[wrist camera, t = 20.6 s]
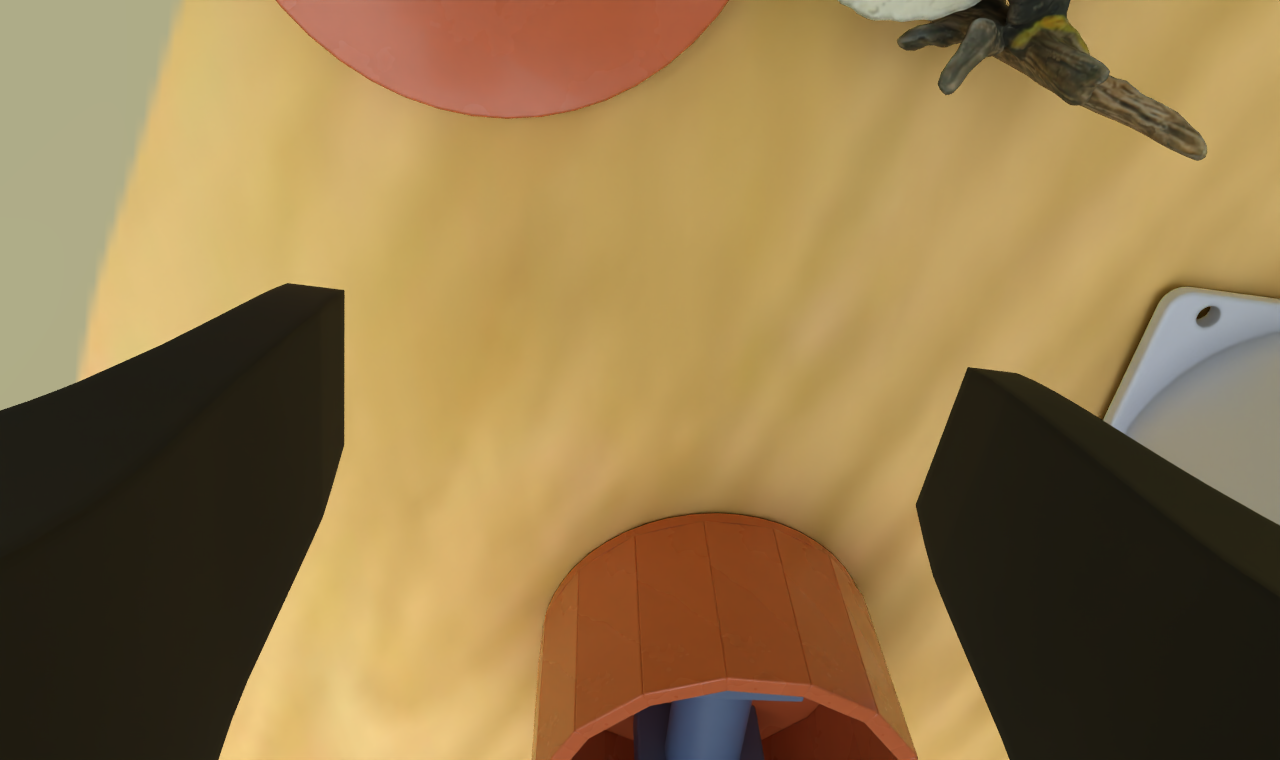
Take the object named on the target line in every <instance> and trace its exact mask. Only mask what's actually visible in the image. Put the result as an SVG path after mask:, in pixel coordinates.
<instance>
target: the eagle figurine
mask: <svg viewBox="0 0 1280 760" xmlns="http://www.w3.org/2000/svg"><path fill="white" fill-rule="evenodd" d="M838 1H839V2H840V3H841V4H843V5H845V6H847V7H849V8H851V9H853V10H854V11H855V12H856V13H857V14H859V15H861V16H863V17H865V18H867V19H870V20H874V21H878V20H892V21H898V22H906V21H914V20H922V19H924V20H929V21H930V22H932V23H929V24H925V25H919V26H917V27H914V28H912V29H910V30H908V31H907V32H905V33H904V34H903V35H902V36H901V37H899V39H898V40H897V43H898V45H899V46H900V47H901V48H903V49H904V50H911V51H915V50H917V49H920V48H923V47H925V46H928V45H934V46H938V47H948V46H950V45H952V44H958V43H961V44H960V46H959V48H958V50H957V52H956V53H955V54H954V56H953V57H952V58H951V59H950V61H949V62H948V64H947V65H946V67H945V68H944V69H943V71H942V72H941V75H940V78H939V81H938V86H939V88H940V90H941V91H942V92H943V93H944V94H945V95H949V94H952V93H953V92H954V91H955V90H956V89H957V88H958V87H959V86H960V85H961V83H962V82H963V80H964V79H965V77H966V76H967V75H968V73H969V72H970V71H971V70H972V69H973V68H974V67H975V66H976V65H977V64H978V63H979V62H981V61H982V60H983V59H984V58H985V57H989V56H994V57H995V58H997V59H999V60H1001V61H1002V62H1004V63H1006V64H1008V65H1010V66H1011V67H1013V68H1015V69H1017V70H1018V71H1020V72H1022V73H1024V74H1025V75H1027V76H1029V77H1030V78H1031V79H1033V80H1034V81H1035V82H1037V83H1038V84H1040V85H1041V86H1043V87H1045V88H1047V89H1048V90H1050V91H1052V92H1053V93H1055V94H1056V95H1058V96H1059V97H1060V98H1061V99H1062V100H1064V101H1065V102H1066V103H1068V104H1070V105H1080V106H1083V107H1085V108H1087V109H1089V110H1091V111H1093V112H1095V113H1098V114H1100V115H1103V116H1105V117H1108V118H1110V119H1112V120H1115V121H1117V122H1119V123H1122V124H1124V125H1126V126H1129V127H1131V128H1133V129H1135V130H1137V131H1138V132H1140V133H1142V134H1144V135H1146V136H1148V137H1149V138H1151V139H1153V140H1154V141H1156V142H1158V143H1160V144H1161V145H1163V146H1165V147H1167V148H1169V149H1171V150H1173V151H1175V152H1177V153H1179V154H1182V155H1184V156H1186V157H1189V158H1191V159H1194V160H1197V161H1199V160H1202V159H1203V158H1205V157H1206V154H1207V145H1206V143H1205V141H1204V139H1203V138H1202V136H1201V135H1200V133H1199V132H1198V131H1196V130H1195V129H1194V128H1193V127H1192V126H1191V125H1190V124H1189V123H1188V122H1187V121H1186V120H1185V119H1184V118H1183V117H1182V116H1181V115H1180V114H1179V113H1178V112H1176V111H1174V110H1172V109H1171V108H1169V107H1167V106H1165V105H1164V104H1162V103H1160V102H1157V101H1156V100H1154V99H1152V98H1149V97H1147V96H1145V95H1143V94H1142V93H1140V92H1139V91H1138V90H1137V89H1136V88H1135V87H1133V86H1132V85H1131V84H1129V83H1128V82H1127V81H1125V80H1121V79H1117V78H1114V77H1112V76H1110V75H1109V73H1110V71H1109V69H1108V68H1107V67H1106V66H1105V65H1104V64H1103V63H1102V62H1100V61H1098V60H1097V59H1095V58H1093V57H1092V56H1090V53H1089V50H1088V48H1087V45H1086V44H1085V42H1084V41H1083V40H1082V38H1081V36H1080V35H1079V33H1078V31H1077V30H1076V29H1075V28H1074V27H1072V26H1071V24H1070V23H1069V22H1068V19H1067V10H1068V7H1069V4H1070V0H1008V1H1009V4H1010V5H1009V6H1007V5H1006V1H1005V0H838Z"/></svg>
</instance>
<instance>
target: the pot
mask: <svg viewBox="0 0 1280 760" xmlns="http://www.w3.org/2000/svg"><path fill="white" fill-rule="evenodd" d="M724 691H735V692H748V693H760V694H772V695H784V696H797V697H804V698H803V701H802V702H794V701H766V700H752V705H751V706H754V707H755V709H756V714H757V719H758V725H759V731H760V736H761V742H762V748H763V753H764V759H765V760H918V756H917V753H916V751H915V748H914V745H913V742H912V739H911V736H910V733H909V730H908V727H907V724H906V721H905V718H904V715H903V712H902V709H901V706H900V703H899V701H898V698H897V695H896V692H895V689H894V686H893V683H892V680H891V677H890V674H889V671H888V668H887V665H886V662H885V659H884V656H883V653H882V651H881V648H880V645H879V642H878V639H877V636H876V633H875V630H874V627H873V624H872V621H871V618H870V615H869V612H868V609H867V606H866V603H865V601H864V598H863V595H862V594H861V593H860V592H859V590H858V589H857V587H856V585H855V583H854V581H853V579H852V577H851V576H850V575H849V573H848V572H847V570H846V569H845V567H844V566H843V565H842V564H841V563H840V562H839V561H838V560H837V559H836V558H835V557H834V555H833V554H832V553H831V552H829V551H828V550H827V549H825V548H824V547H823V546H821V545H820V544H819V543H817V542H816V541H815V540H813V539H811V538H809V537H808V536H806V535H804V534H802V533H801V532H799V531H796V530H794V529H792V528H789V527H787V526H784V525H782V524H779V523H776V522H772V521H768V520H765V519H761V518H757V517H751V516H744V515H738V514H721V513H708V514H690V515H684V516H678V517H672V518H667V519H663V520H659V521H655V522H652V523H648V524H645V525H642V526H640V527H637V528H635V529H632V530H629V531H627V532H625V533H623V534H621V535H619V536H617V537H615V538H613V539H611V540H609V541H607V542H606V543H604V544H603V545H601V546H600V547H598V548H597V549H595V550H594V551H592V552H591V553H590V554H588V555H587V556H586V557H585V558H584V559H583V560H582V561H581V562H579V563H578V564H577V565H576V566H575V567H574V568H573V569H572V571H571V572H570V573H569V574H568V575H567V576H566V577H565V579H564V580H563V581H562V583H561V584H560V586H559V587H558V589H557V591H556V592H555V594H554V595H553V597H552V600H551V602H550V604H549V607H548V609H547V611H546V615H545V620H544V624H543V632H542V642H541V649H540V656H539V665H538V679H537V692H536V706H535V720H534V734H533V747H532V760H634V738H633V721H634V714H636V713H638V712H640V711H642V710H644V709H645V708H647V707H649V706H652V705H657V704H662V703H671V702H673V701H678V700H683V699H688V698H693V697H698V696H703V695H708V694H713V693H719V692H724Z"/></svg>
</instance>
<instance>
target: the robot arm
mask: <svg viewBox="0 0 1280 760" xmlns="http://www.w3.org/2000/svg"><path fill="white" fill-rule="evenodd" d="M1209 306H1211V307H1210V311H1209V312H1208V313H1207V314H1206V316H1204V317H1202V318H1200V319H1196V318H1197V315H1198V314H1199V312H1200V311H1201V310H1202V309H1204V308H1206V307H1209ZM343 447H344V290H338V289H330V288H322V287H314V286H305V285H297V284H289V283H287V284H284V285H282V286H279V287H276V288H274V289H272V290H269V291H267V292H265V293H263V294H261V295H259V296H257V297H255V298H253V299H251V300H249V301H247V302H245V303H243V304H241V305H239V306H237V307H235V308H233V309H231V310H230V311H228V312H226V313H224V314H222V315H220V316H218V317H216V318H214V319H212V320H210V321H208V322H206V323H204V324H202V325H200V326H198V327H196V328H194V329H192V330H190V331H188V332H186V333H184V334H182V335H180V336H178V337H176V338H174V339H172V340H170V341H168V342H166V343H164V344H162V345H160V346H158V347H156V348H153V349H151V350H149V351H147V352H145V353H142V354H140V355H138V356H136V357H133V358H131V359H129V360H127V361H124V362H122V363H120V364H118V365H115V366H113V367H111V368H109V369H106V370H104V371H102V372H100V373H97V374H95V375H93V376H91V377H88V378H86V379H84V380H82V381H79V382H77V383H74V384H72V385H69V386H67V387H64V388H62V389H60V390H57V391H54V392H52V393H49V394H46V395H44V396H41V397H38V398H36V399H33V400H30V401H28V402H24V403H21V404H18V405H16V406H13V407H10V408H7V409H4V410H1V411H0V760H218V759H219V756H220V753H221V750H222V747H223V744H224V741H225V738H226V735H227V732H228V729H229V726H230V723H231V720H232V718H233V715H234V713H235V710H236V708H237V705H238V703H239V701H240V698H241V696H242V693H243V691H244V688H245V686H246V683H247V681H248V679H249V676H250V674H251V672H252V670H253V668H254V666H255V663H256V661H257V659H258V657H259V655H260V653H261V651H262V648H263V646H264V644H265V642H266V640H267V638H268V635H269V633H270V631H271V629H272V627H273V625H274V622H275V620H276V618H277V616H278V614H279V612H280V610H281V607H282V605H283V603H284V601H285V599H286V597H287V594H288V592H289V590H290V588H291V586H292V584H293V582H294V579H295V577H296V575H297V573H298V571H299V569H300V566H301V564H302V562H303V560H304V558H305V555H306V553H307V551H308V549H309V547H310V544H311V542H312V540H313V538H314V536H315V533H316V531H317V529H318V527H319V524H320V522H321V520H322V518H323V515H324V511H325V508H326V505H327V502H328V498H329V495H330V492H331V489H332V485H333V482H334V479H335V475H336V472H337V468H338V464H339V461H340V457H341V454H342V450H343ZM916 508H917V513H918V517H919V522H920V526H921V531H922V535H923V539H924V544H925V548H926V551H927V555H928V559H929V562H930V566H931V570H932V573H933V577H934V579H935V582H936V584H937V587H938V589H939V592H940V594H941V597H942V599H943V602H944V604H945V607H946V609H947V611H948V614H949V616H950V619H951V621H952V623H953V626H954V628H955V631H956V633H957V635H958V638H959V640H960V642H961V645H962V647H963V649H964V652H965V654H966V656H967V659H968V661H969V663H970V666H971V668H972V670H973V673H974V675H975V677H976V680H977V682H978V684H979V687H980V689H981V691H982V694H983V696H984V698H985V701H986V703H987V705H988V708H989V710H990V712H991V715H992V717H993V719H994V722H995V724H996V726H997V729H998V731H999V734H1000V736H1001V738H1002V741H1003V743H1004V746H1005V749H1006V751H1007V754H1008V757H1009V759H1010V760H1280V299H1276V298H1268V297H1261V296H1254V295H1246V294H1239V293H1232V292H1225V291H1217V290H1210V289H1203V288H1195V287H1179V288H1176V289H1174V290H1171V291H1170V292H1169V293H1167V294H1166V295H1165V296H1163V298H1162V299H1161V301H1160V302H1159V303H1158V305H1157V307H1156V309H1155V312H1154V314H1153V316H1152V318H1151V320H1150V322H1149V324H1148V326H1147V328H1146V330H1145V333H1144V335H1143V337H1142V339H1141V341H1140V343H1139V345H1138V347H1137V349H1136V352H1135V354H1134V356H1133V358H1132V360H1131V362H1130V364H1129V366H1128V368H1127V370H1126V373H1125V375H1124V377H1123V379H1122V381H1121V383H1120V385H1119V387H1118V389H1117V391H1116V394H1115V396H1114V398H1113V400H1112V402H1111V404H1110V406H1109V408H1108V410H1107V413H1106V415H1105V417H1104V419H1103V420H1101V419H1100V418H1098V417H1096V416H1095V415H1093V414H1092V413H1090V412H1088V411H1087V410H1085V409H1084V408H1082V407H1080V406H1079V405H1077V404H1075V403H1074V402H1072V401H1070V400H1068V399H1067V398H1065V397H1063V396H1061V395H1060V394H1058V393H1056V392H1055V391H1053V390H1051V389H1049V388H1047V387H1045V386H1043V385H1042V384H1040V383H1038V382H1036V381H1034V380H1031V379H1029V378H1027V377H1025V376H1022V375H1020V374H1017V373H1011V372H1002V371H994V370H986V369H978V368H970V367H968V368H967V371H966V373H965V376H964V379H963V381H962V384H961V387H960V389H959V392H958V395H957V397H956V400H955V402H954V405H953V408H952V410H951V413H950V416H949V418H948V421H947V424H946V426H945V429H944V432H943V434H942V437H941V439H940V442H939V445H938V447H937V450H936V453H935V455H934V458H933V461H932V463H931V466H930V469H929V471H928V474H927V476H926V479H925V482H924V484H923V487H922V490H921V492H920V495H919V498H918V500H917V503H916Z"/></svg>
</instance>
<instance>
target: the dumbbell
mask: <svg viewBox="0 0 1280 760" xmlns="http://www.w3.org/2000/svg"><path fill="white" fill-rule="evenodd" d="M803 698H804V697H797V696H784V695H772V694H760V693H748V692H735V691H724V692H719V693H713V694H708V695H703V696H698V697H693V698H688V699H683V700H678V701H673V702H671V703H662V704H657V705H652V706H649V707H647V708H645V709H644V710H642V711H640V712H638V713H636V714H634V721H633V738H634V760H765V759H764V753H763V748H762V742H761V736H760V731H759V725H758V719H757V714H756V709H755V707H754V706H751V705H752V700H766V701H794V702H802V701H803Z"/></svg>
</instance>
